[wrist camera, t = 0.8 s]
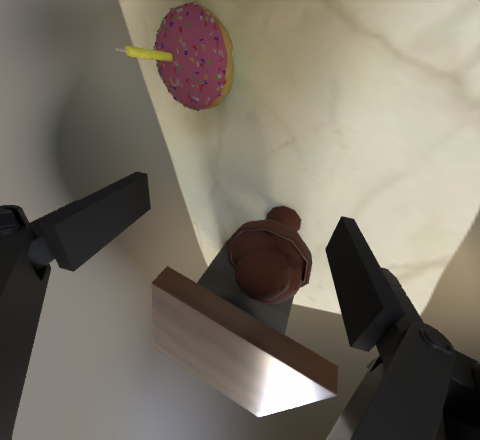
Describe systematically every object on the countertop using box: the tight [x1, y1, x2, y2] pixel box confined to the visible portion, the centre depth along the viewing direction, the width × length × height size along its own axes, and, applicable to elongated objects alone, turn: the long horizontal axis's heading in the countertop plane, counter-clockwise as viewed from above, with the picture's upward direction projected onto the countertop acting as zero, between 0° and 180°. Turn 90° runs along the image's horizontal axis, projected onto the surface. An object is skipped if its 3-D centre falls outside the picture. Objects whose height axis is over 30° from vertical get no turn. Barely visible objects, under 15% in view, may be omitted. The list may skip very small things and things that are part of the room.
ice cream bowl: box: [226, 206, 312, 304], centre depth 27 cm, size 11×11×15 cm
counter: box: [152, 243, 338, 417], centre depth 28 cm, size 17×16×20 cm
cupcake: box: [115, 3, 233, 111], centre depth 20 cm, size 9×8×12 cm
